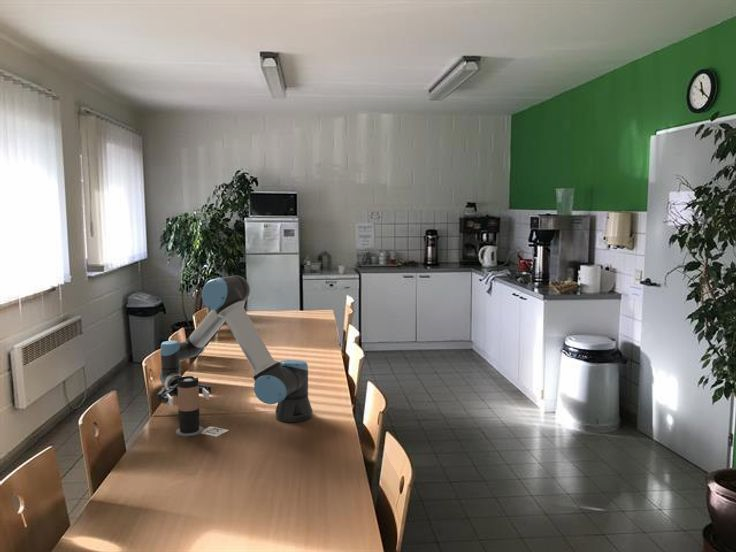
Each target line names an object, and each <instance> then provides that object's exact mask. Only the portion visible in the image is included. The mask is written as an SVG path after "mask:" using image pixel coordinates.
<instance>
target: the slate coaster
mask: <svg viewBox="0 0 736 552" xmlns="http://www.w3.org/2000/svg"><path fill="white" fill-rule="evenodd" d="M204 429H205V428H204V427H203V426H201V425H199V430H198V431H197V432H194V433H182V432H180V427H179V428H177V429H176V431H175V434H176V435H177V436H179V437H186V438H187V437H195V436H198V435H201V434H202V432H203V430H204Z"/></svg>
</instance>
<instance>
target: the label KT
mask: <svg viewBox="0 0 736 552" xmlns="http://www.w3.org/2000/svg"><path fill="white" fill-rule="evenodd" d="M203 429H204V430H203V432H202V433H201V434H202V435H207V436H211V437H216V438H217V437H219V436H221V435H223V434H224V433H226V432H228V431H230V430H229V429H224V428H222V427H221V428H220V427H216V426H211V425H210V426H207V427H206V428H203Z"/></svg>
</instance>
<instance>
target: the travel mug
mask: <svg viewBox="0 0 736 552" xmlns="http://www.w3.org/2000/svg"><path fill="white" fill-rule="evenodd" d="M199 384H200V383H199V377H198V376H197V377H195V376H193V375H187V376H182V377H181V378H179V379H178V396H177V404H178V405H177V409H178V410H177V411H178V422H179V423H178V424H179V428H180V432H182V433H194V432H197V431H198V430H199V426H200V394H199Z"/></svg>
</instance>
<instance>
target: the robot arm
mask: <svg viewBox="0 0 736 552" xmlns="http://www.w3.org/2000/svg"><path fill="white" fill-rule="evenodd" d="M250 293H251V287H250V284H249V282H248V281H247V280H246V279H245V278H244V277H243V276H240V275H229V276H223V277H216V278H213V279H210V280H207V282H206V283H205V284H204V285H203V287H202V292H201V299H202V303H203V305H205V307H206V308H207V309H210V311H209V312H208V313H207V315H206V316H205V317H204V318H203V320H201V322H200V323H199V324H198V325H197V327H196V328H195V329H194V330H193V331H192V332H191V334H190V335H189V336H188V338H186V340H185V341H181V342H179V341H178V340H166V341H162V342H161V344H160V353H159V354H160V366H161V368H160V369H161V371H160V373H159V379H160V383H161V384H162V385H163V386H162V387H161V389H160V391H159V392H158V393H157V395H156V396H157V402H161V401H162V403H164V404H165V403H168V404H169V406H174V405H173V397H178V379H179V378H181V377H183V375H181V362H183V361H185V360H188V359H191V358H195V357H198V356H199V355H201V354H203V353H204V351H205V346H206V344H208V342H209V341H210V340H211V338H212V337H213V336H214V335H215V334H216V332H218V330H219V329H220V328H221V327H222V326H223V325H224V323H226V324H227V326H228V328H229V330H230V333H232V335H233V336H234V339H235V340H236V342H237V344H238V345H239V347H240V349H241V350H242V353H243V354H244V357H245V358H246V360H247V361H248V364H249V365H250V366H251V368H252V370H253V375H252V378H253V380H254V384H253V387H254V388H253V391H254V394H255V396H256V397H257V399H258V400H259V401H260V402H262V403H264V404H267V405H274V404H277V405H276V407H275V412H274V414H275V419H276V420H277V421H279V422H283V423H284V422H285V423H300V422H304V421H308V420H310V419H311V418H312V417H313V413H314V411H313V408H312V405H311V401H310V399H309V366H308V365H309V364H308V363H307V362H306V361H304V360H297V359H284V360H283V359H282V360H281V361H280V360H275V359H274V358H273V356H272V354H271V353H270V351H269V350H268V349H269V348H268V347H267V346H266V344H265V343H264V341H263V339H262V337H261V336H260V334H259V332H258V331H257V328H256V326H255V325H254V323H253V321H252V320H251V318H250V317H249V314H248V312H247V311H246V309H245V308H244V306H245V303H246V302H247V300H248V298H249V296H250ZM211 393H212V386H209V385H206V384H202V383H199V395H202V396H203V397H204V398H205V399H206V400H207V401H208V400H210V394H211Z"/></svg>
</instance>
